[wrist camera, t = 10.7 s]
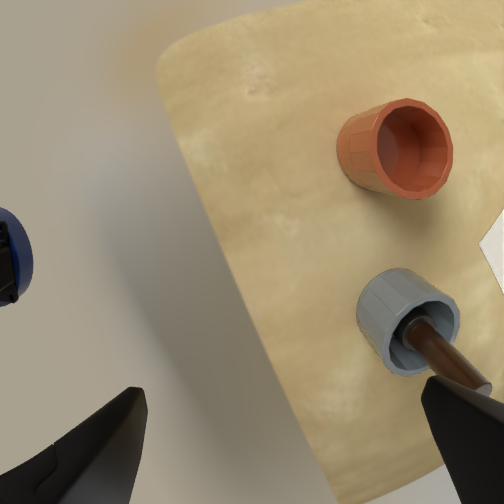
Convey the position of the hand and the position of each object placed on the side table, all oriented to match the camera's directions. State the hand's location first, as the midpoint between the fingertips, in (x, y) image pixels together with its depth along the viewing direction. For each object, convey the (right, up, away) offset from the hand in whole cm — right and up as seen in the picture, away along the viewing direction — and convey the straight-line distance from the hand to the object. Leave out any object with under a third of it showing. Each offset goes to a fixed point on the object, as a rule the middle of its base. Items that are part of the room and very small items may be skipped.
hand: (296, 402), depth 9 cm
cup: (+9, 0, +14) cm, 17 cm away
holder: (+7, +11, +11) cm, 17 cm away
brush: (+9, 0, +13) cm, 16 cm away
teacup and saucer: (+31, +6, +14) cm, 35 cm away
